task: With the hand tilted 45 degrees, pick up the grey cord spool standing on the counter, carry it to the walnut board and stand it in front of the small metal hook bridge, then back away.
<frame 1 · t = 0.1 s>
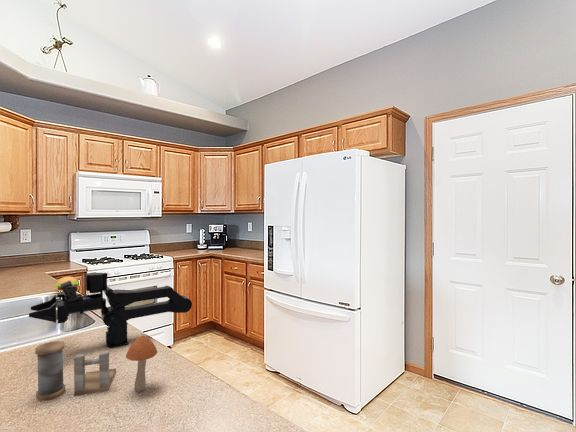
hand: (29, 311, 107), 17 cm above the counter, tool horizontal, fingers open, 9 cm apart
hook board: (96, 382, 94), on the counter
hamburger: (67, 291, 203), on the counter
mushroom: (142, 390, 90), on the counter
cord spool: (51, 393, 89), on the counter
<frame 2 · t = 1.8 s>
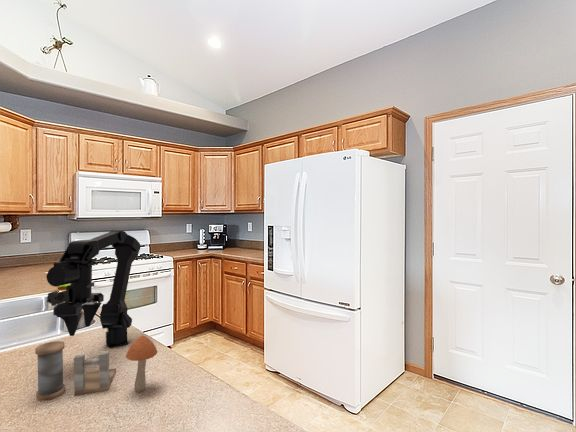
hand: (80, 330, 103), 12 cm above the counter, tool pointing down, fingers open, 9 cm apart
nothing on the counter moved.
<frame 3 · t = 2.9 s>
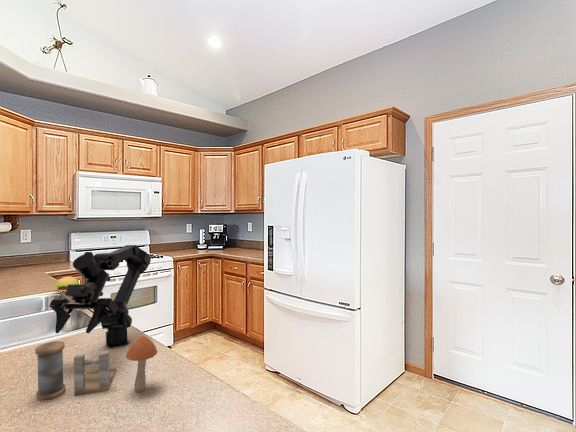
hand: (71, 332, 97), 13 cm above the counter, tool tilted 45°, fingers open, 9 cm apart
nothing on the counter moved.
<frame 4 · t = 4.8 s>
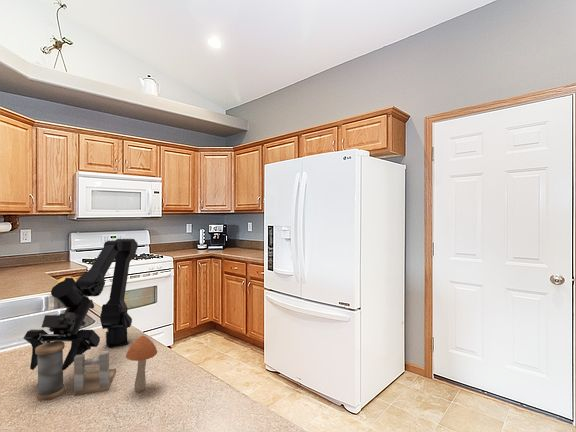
hand: (47, 369, 87), 7 cm above the counter, tool tilted 45°, fingers open, 8 cm apart
nothing on the counter moved.
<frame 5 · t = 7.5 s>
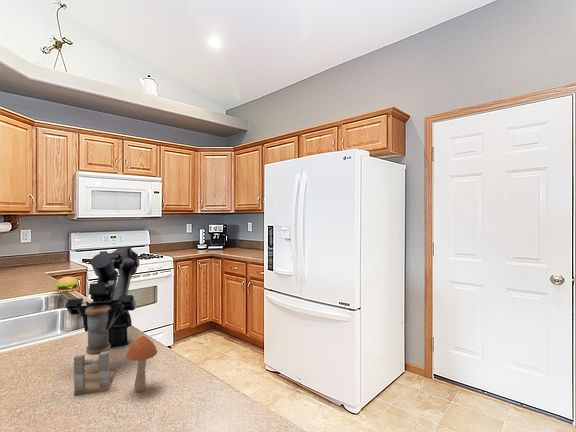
hand: (96, 330, 99), 13 cm above the counter, tool tilted 45°, fingers closed on cord spool, 5 cm apart
cord spool: (98, 350, 100), point 7 cm above the counter, touching gripper
everything else where it was.
when the fingers open (9 cm above the counter, at t = 9.5 s): cord spool drops 1 cm, resting on hook board.
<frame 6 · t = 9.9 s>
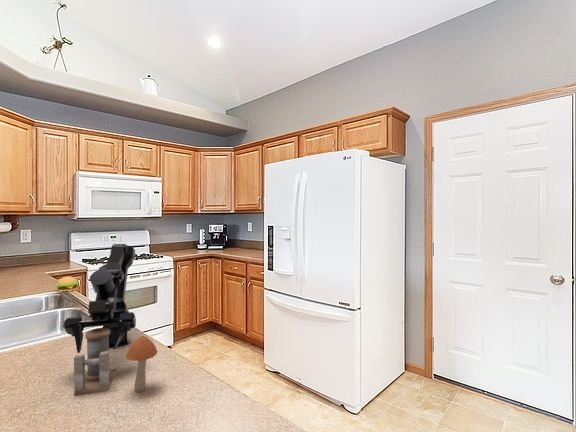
hand: (96, 350, 94), 9 cm above the counter, tool tilted 45°, fingers open, 9 cm apart
cord spool: (98, 375, 96), point 1 cm above the counter, touching hook board
everything else where it was.
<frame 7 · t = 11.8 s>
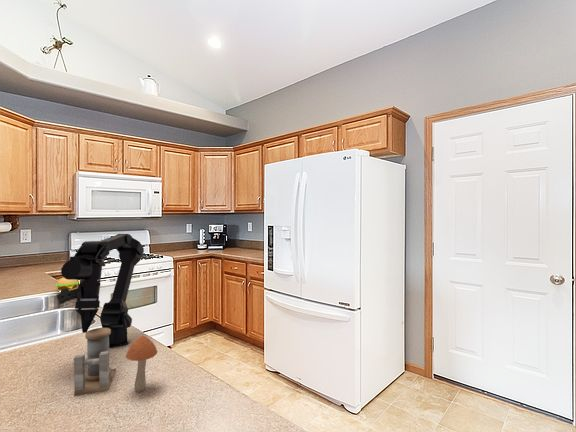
hand: (84, 330, 103), 12 cm above the counter, tool pointing down, fingers open, 9 cm apart
nothing on the counter moved.
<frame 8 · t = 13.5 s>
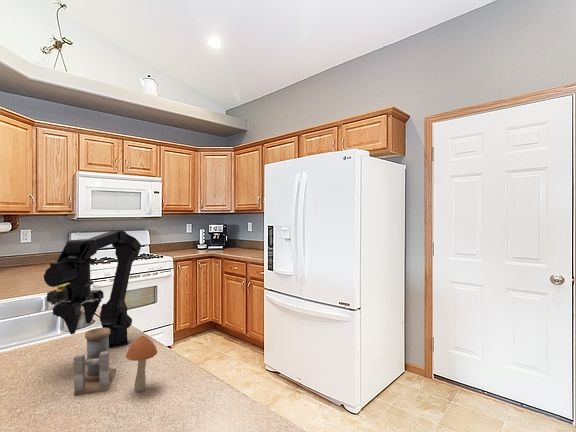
hand: (80, 328, 104), 12 cm above the counter, tool pointing down, fingers open, 9 cm apart
nothing on the counter moved.
at the end: cord spool inside the target area on the hook board (0.3 cm from its centre), point 1.0 cm above the hook board's base; cord spool tilted 1°; the gripper is holding nothing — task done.
